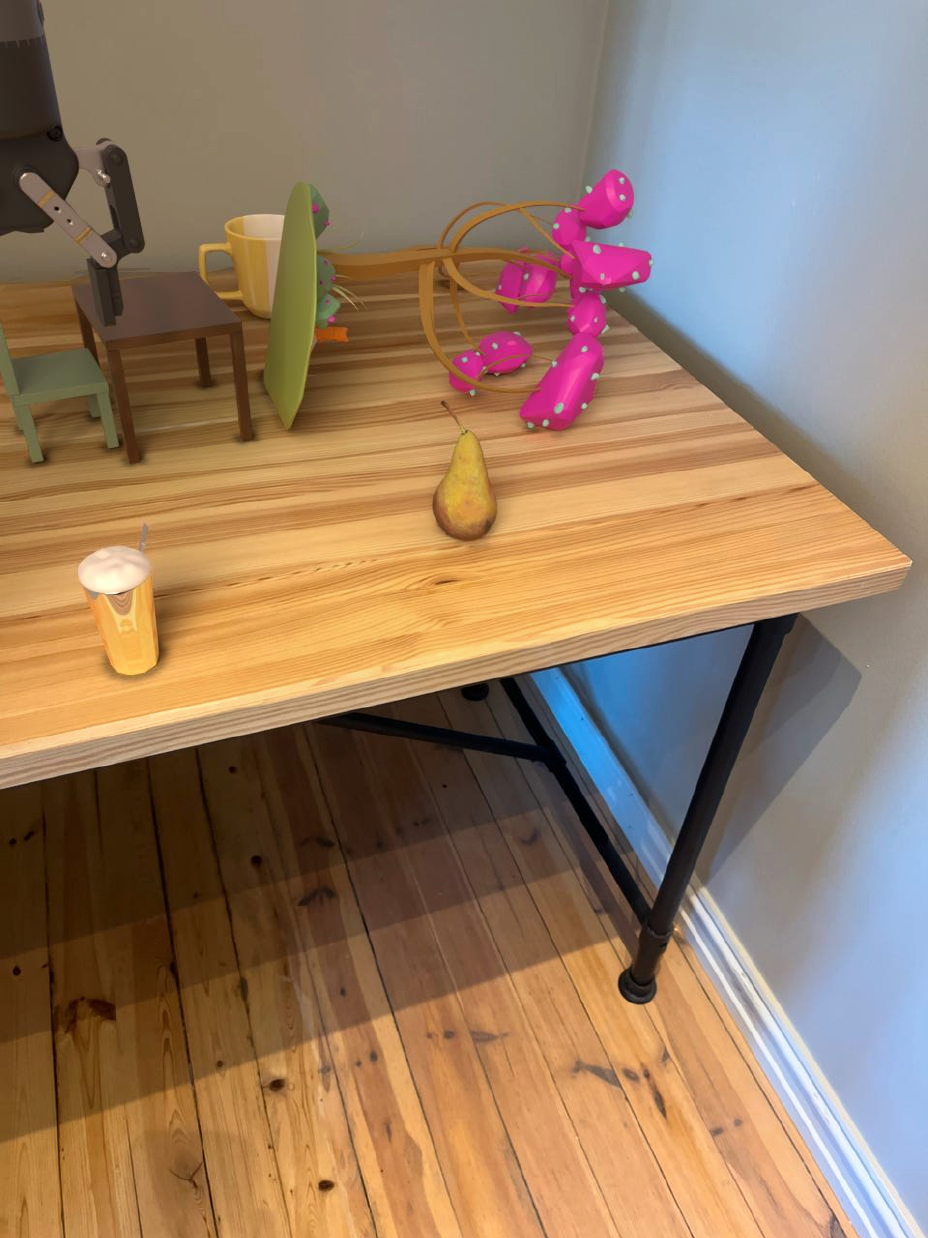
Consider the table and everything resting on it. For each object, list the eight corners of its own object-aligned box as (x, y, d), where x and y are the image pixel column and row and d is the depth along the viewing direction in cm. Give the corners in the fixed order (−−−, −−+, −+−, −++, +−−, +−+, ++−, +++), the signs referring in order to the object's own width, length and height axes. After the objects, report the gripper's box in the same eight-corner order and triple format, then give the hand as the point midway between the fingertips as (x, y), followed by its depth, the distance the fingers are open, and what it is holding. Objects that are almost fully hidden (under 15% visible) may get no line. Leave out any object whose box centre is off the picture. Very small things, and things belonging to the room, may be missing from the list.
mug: (310, 295, 121) (306, 211, 114) (319, 325, 113) (316, 238, 107) (203, 298, 118) (193, 212, 111) (206, 329, 110) (195, 239, 104)
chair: (25, 465, 84) (-27, 275, 73) (11, 426, 89) (-40, 244, 78) (120, 446, 87) (84, 263, 76) (101, 410, 92) (64, 234, 81)
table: (129, 464, 85) (105, 340, 78) (95, 401, 95) (70, 285, 87) (253, 439, 90) (242, 321, 83) (209, 382, 100) (195, 270, 92)
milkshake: (190, 649, 66) (171, 535, 60) (133, 691, 63) (105, 575, 56) (146, 625, 68) (122, 512, 62) (87, 664, 64) (56, 549, 58)
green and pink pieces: (283, 55, 86) (617, 121, 96) (258, 312, 108) (533, 343, 118) (307, 239, 69) (710, 294, 80) (272, 499, 91) (591, 515, 101)
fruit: (451, 558, 77) (459, 430, 69) (420, 524, 81) (425, 398, 73) (507, 543, 79) (521, 417, 72) (475, 510, 83) (485, 387, 75)
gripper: (90, 14, 52) (135, 297, 62) (-203, 11, 46) (-100, 326, 56) (126, 34, 47) (168, 338, 57) (-196, 34, 41) (-84, 374, 51)
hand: (36, 332), depth 57 cm, fingers open, 8 cm apart
